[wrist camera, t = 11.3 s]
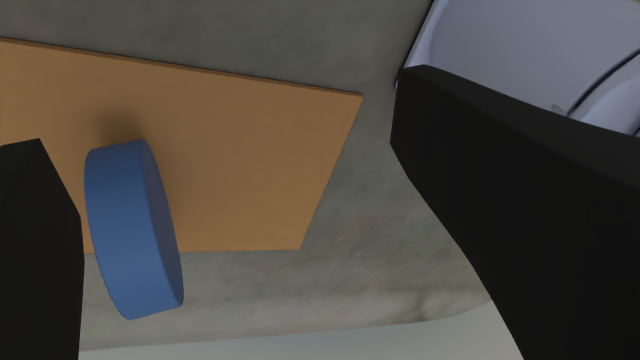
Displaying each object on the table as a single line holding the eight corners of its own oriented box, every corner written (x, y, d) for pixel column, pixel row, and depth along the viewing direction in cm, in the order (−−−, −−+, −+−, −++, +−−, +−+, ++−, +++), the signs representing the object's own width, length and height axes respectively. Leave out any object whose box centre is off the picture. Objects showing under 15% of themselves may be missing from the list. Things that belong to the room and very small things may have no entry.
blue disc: (137, 105, 19) (147, 227, 14) (174, 218, 24) (191, 338, 19) (86, 114, 18) (77, 243, 14) (134, 228, 23) (141, 353, 18)
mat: (361, 93, 23) (364, 97, 22) (297, 244, 29) (299, 249, 29) (-199, 5, 14) (-206, 10, 14) (-121, 252, 20) (-124, 259, 20)
